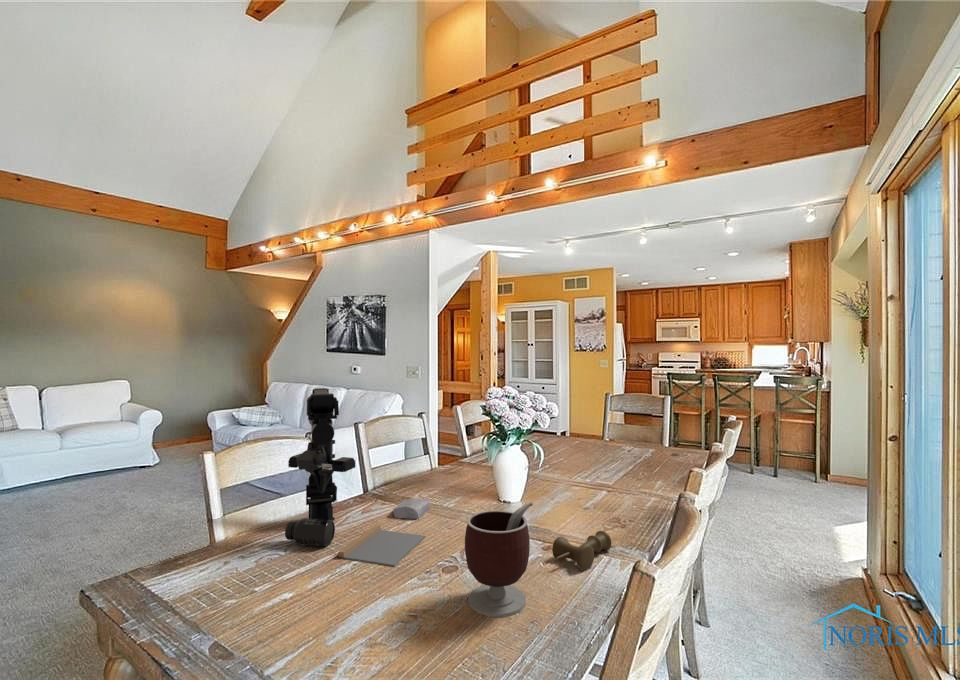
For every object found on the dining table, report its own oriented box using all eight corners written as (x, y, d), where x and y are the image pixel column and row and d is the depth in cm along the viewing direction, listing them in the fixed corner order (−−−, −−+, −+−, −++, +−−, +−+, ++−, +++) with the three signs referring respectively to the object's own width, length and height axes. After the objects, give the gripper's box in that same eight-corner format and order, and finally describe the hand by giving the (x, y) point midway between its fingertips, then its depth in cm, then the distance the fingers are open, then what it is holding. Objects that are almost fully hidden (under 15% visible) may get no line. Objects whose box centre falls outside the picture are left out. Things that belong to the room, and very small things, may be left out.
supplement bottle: (338, 527, 135) (299, 524, 137) (330, 515, 130) (290, 511, 132) (329, 551, 130) (288, 547, 132) (320, 539, 125) (279, 535, 127)
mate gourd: (480, 625, 93) (480, 522, 93) (455, 592, 106) (455, 501, 106) (548, 608, 99) (548, 512, 99) (517, 578, 112) (517, 493, 112)
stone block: (391, 524, 151) (421, 520, 149) (389, 509, 151) (418, 504, 149) (405, 513, 162) (432, 508, 161) (402, 498, 163) (430, 494, 161)
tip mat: (338, 557, 122) (338, 551, 122) (375, 530, 140) (375, 525, 140) (394, 566, 118) (394, 560, 118) (425, 537, 136) (425, 531, 136)
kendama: (620, 556, 125) (571, 578, 112) (590, 546, 132) (541, 565, 119) (620, 533, 125) (571, 552, 112) (590, 524, 132) (541, 540, 120)
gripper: (274, 441, 130) (274, 498, 130) (333, 445, 125) (333, 505, 125) (301, 434, 141) (301, 486, 141) (356, 437, 136) (356, 492, 135)
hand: (321, 492), depth 135 cm, fingers closed
